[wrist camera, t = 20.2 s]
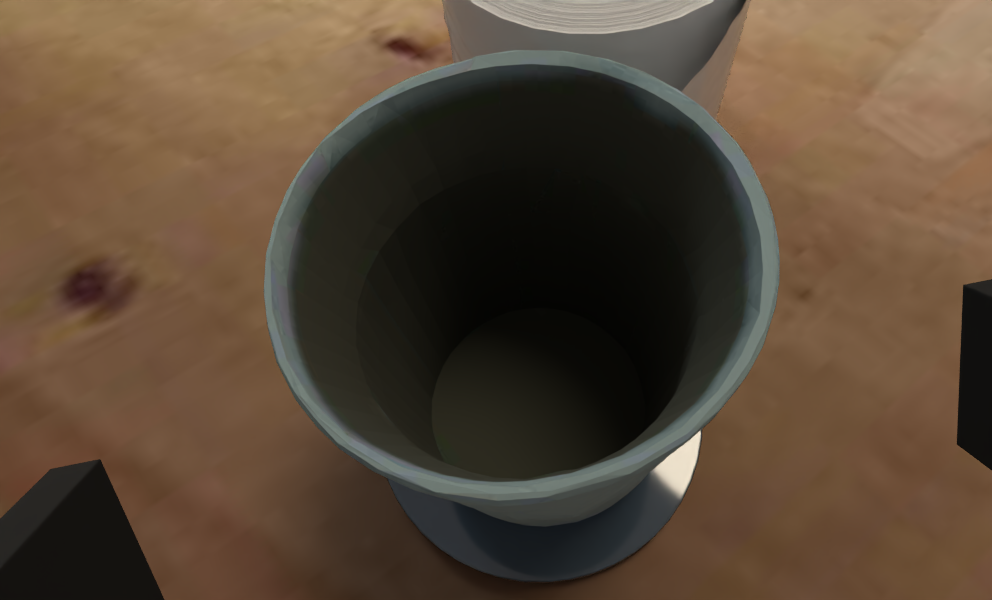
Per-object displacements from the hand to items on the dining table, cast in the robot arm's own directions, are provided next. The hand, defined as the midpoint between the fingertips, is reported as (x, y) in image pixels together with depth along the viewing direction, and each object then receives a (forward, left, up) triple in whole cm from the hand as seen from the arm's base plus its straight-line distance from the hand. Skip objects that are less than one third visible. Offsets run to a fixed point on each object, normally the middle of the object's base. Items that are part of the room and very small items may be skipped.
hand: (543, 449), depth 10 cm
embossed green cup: (+4, 0, -13) cm, 14 cm away
